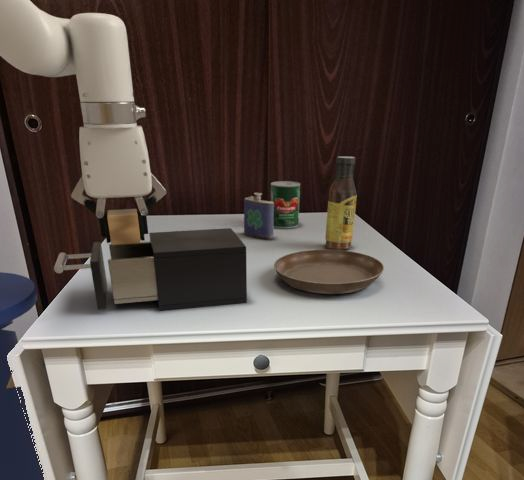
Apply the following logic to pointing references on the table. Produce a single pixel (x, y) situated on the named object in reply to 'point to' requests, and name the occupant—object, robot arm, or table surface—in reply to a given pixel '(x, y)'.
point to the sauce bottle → (341, 206)
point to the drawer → (119, 272)
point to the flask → (258, 217)
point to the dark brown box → (199, 268)
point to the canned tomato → (285, 204)
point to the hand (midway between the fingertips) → (125, 238)
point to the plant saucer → (328, 271)
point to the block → (123, 226)
